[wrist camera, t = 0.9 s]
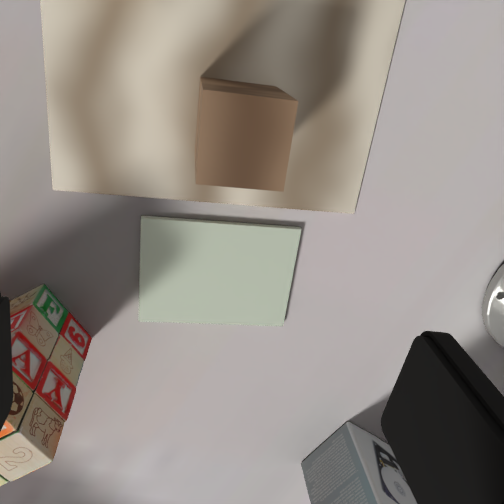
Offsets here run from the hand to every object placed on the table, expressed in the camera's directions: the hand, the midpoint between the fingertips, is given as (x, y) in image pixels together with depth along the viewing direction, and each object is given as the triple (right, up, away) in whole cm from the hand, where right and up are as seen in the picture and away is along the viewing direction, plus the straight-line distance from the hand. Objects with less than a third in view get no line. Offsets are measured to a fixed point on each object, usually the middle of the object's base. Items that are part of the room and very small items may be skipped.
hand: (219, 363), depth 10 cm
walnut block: (-1, +12, +20) cm, 23 cm away
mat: (-2, +1, +25) cm, 25 cm away
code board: (-1, +15, +18) cm, 24 cm away
